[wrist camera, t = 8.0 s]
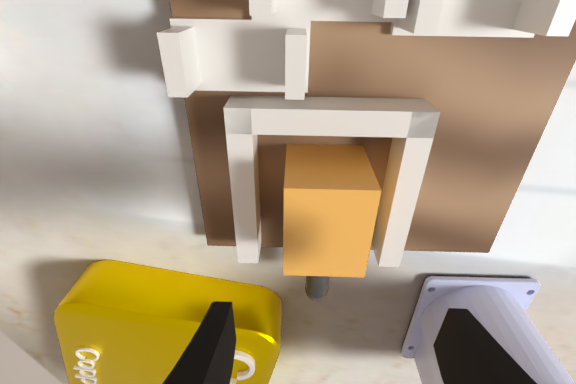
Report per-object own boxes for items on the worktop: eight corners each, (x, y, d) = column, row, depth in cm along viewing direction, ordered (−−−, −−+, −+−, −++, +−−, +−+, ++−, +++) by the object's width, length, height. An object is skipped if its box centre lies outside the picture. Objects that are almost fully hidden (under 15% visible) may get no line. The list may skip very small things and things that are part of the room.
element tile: (84, 251, 23) (39, 306, 19) (288, 287, 25) (286, 345, 21) (100, 365, 31) (70, 422, 27) (254, 387, 33) (248, 444, 29)
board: (481, 242, 22) (488, 252, 21) (211, 235, 22) (207, 245, 21) (610, -61, 13) (631, -65, 12) (167, -67, 13) (158, -71, 13)
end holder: (390, 244, 21) (399, 267, 19) (242, 240, 21) (237, 262, 19) (425, 99, 16) (440, 112, 14) (231, 95, 16) (223, 108, 14)
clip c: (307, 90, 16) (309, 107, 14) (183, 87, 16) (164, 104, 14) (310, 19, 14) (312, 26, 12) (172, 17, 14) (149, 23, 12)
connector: (344, 273, 22) (353, 332, 18) (285, 271, 22) (282, 330, 18) (362, 145, 17) (381, 190, 13) (286, 143, 17) (283, 188, 13)
